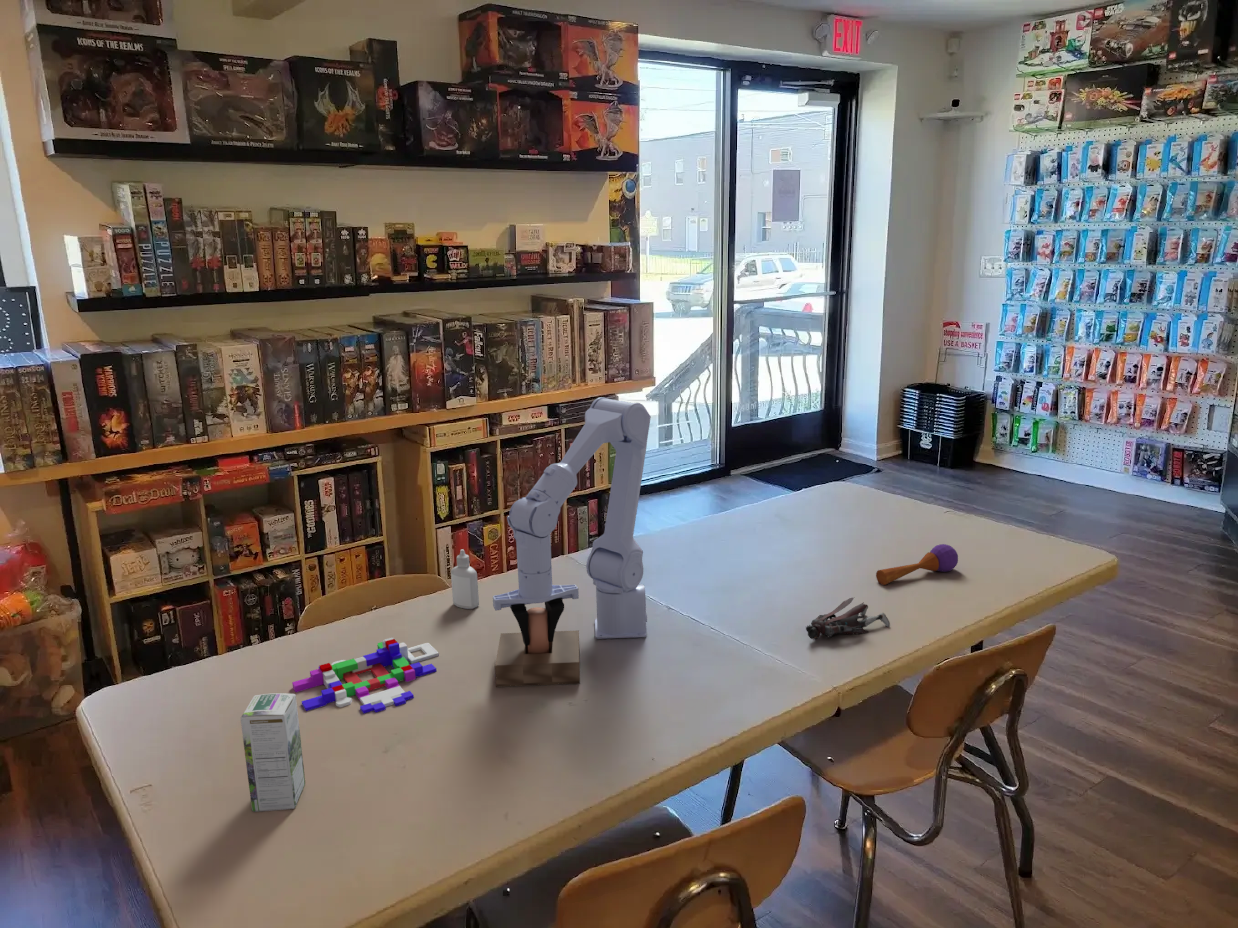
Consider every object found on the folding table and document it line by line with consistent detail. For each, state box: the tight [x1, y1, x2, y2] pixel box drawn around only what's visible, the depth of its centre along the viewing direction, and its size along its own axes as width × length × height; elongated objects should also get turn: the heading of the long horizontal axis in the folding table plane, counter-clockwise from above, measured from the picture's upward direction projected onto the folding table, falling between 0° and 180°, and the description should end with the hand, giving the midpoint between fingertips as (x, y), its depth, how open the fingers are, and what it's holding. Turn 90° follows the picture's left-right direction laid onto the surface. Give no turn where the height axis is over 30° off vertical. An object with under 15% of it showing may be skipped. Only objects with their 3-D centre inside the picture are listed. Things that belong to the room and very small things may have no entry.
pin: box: [526, 606, 549, 654], centre depth 155 cm, size 4×4×8 cm
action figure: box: [805, 597, 891, 640], centre depth 168 cm, size 8×6×18 cm
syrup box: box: [240, 692, 306, 813], centre depth 121 cm, size 6×6×14 cm
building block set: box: [291, 636, 440, 714], centre depth 154 cm, size 25×20×4 cm
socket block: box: [494, 630, 581, 688], centre depth 157 cm, size 14×12×4 cm
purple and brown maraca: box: [875, 543, 959, 586], centre depth 193 cm, size 6×6×20 cm
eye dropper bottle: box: [450, 548, 480, 610], centre depth 182 cm, size 4×6×12 cm
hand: (538, 641), depth 156 cm, fingers closed on pin, 4 cm apart
